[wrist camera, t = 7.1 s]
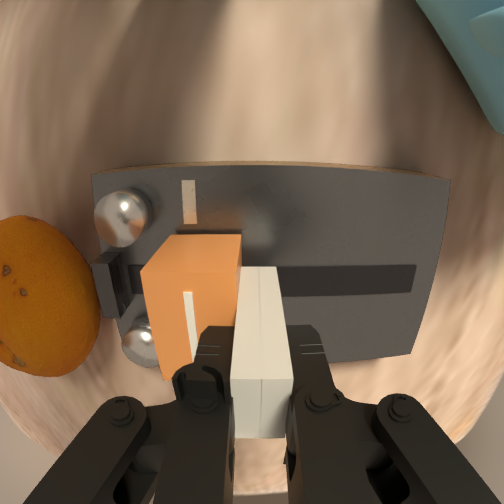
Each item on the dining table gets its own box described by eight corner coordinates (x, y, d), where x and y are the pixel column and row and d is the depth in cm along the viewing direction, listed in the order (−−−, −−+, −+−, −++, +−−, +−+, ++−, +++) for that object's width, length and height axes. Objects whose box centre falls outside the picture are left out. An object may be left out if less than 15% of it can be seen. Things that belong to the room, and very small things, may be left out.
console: (116, 168, 15) (74, 179, 11) (422, 172, 15) (467, 185, 11) (141, 330, 19) (118, 373, 15) (394, 328, 19) (419, 368, 15)
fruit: (57, 345, 20) (12, 407, 13) (-4, 239, 17) (-71, 280, 9) (146, 315, 19) (100, 402, 11) (71, 175, 15) (-22, 205, 8)
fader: (170, 234, 13) (139, 272, 9) (241, 234, 13) (236, 274, 9) (181, 326, 15) (162, 381, 11) (242, 328, 15) (239, 386, 11)
